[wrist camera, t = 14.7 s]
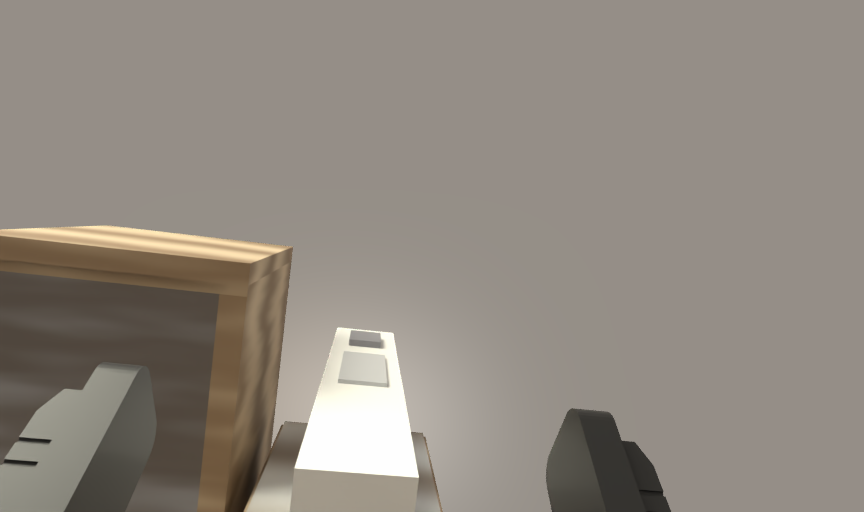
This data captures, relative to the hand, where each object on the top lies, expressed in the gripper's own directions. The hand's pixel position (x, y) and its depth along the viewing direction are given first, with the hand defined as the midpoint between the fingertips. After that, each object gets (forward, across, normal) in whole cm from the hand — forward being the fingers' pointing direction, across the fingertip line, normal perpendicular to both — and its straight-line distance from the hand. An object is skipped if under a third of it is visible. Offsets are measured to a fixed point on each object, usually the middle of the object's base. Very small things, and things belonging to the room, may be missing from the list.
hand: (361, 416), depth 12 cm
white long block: (+12, 0, +18) cm, 22 cm away
